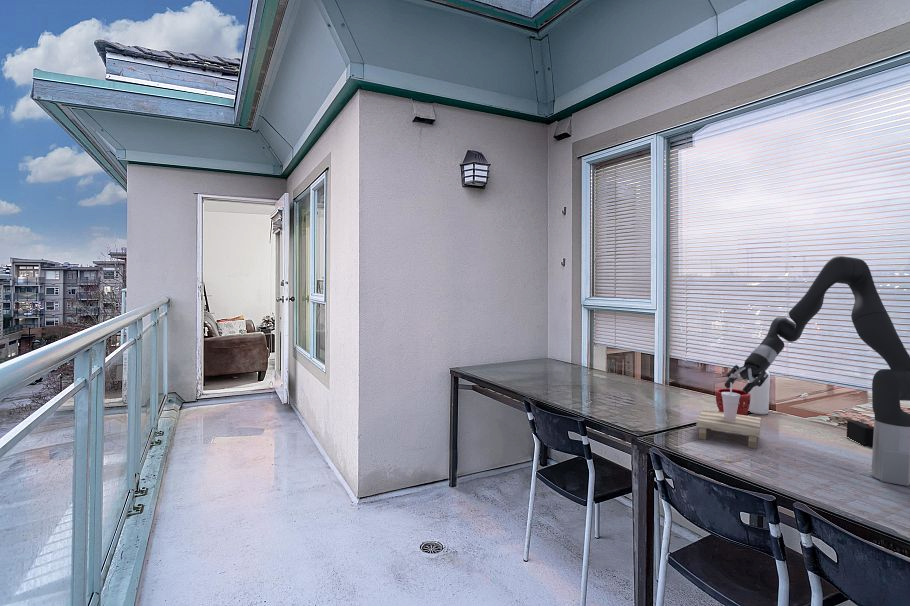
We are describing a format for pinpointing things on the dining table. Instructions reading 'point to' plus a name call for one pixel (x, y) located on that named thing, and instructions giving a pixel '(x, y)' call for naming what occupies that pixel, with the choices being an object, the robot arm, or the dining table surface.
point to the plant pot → (741, 407)
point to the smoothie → (730, 404)
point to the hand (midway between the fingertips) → (735, 389)
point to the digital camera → (860, 432)
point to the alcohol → (760, 397)
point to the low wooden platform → (729, 425)
